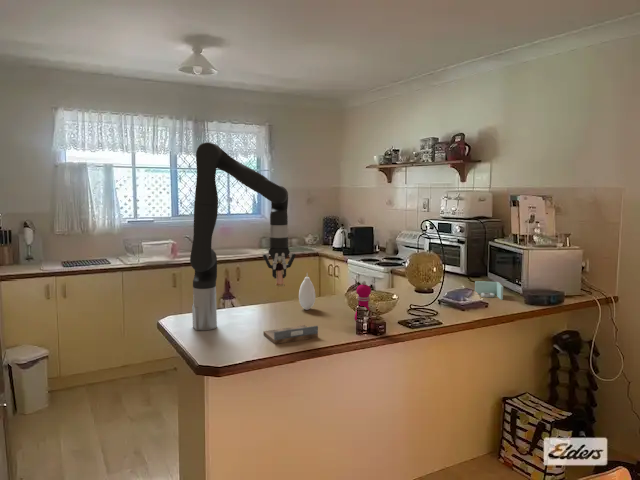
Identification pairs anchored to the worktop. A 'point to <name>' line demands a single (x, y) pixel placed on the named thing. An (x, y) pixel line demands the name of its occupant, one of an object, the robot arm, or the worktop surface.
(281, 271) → the grandmother figurine
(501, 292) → the l-shaped corner panel
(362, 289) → the pepper mill
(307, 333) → the price rail
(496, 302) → the worktop surface
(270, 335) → the shelf board
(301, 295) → the sauce bottle
